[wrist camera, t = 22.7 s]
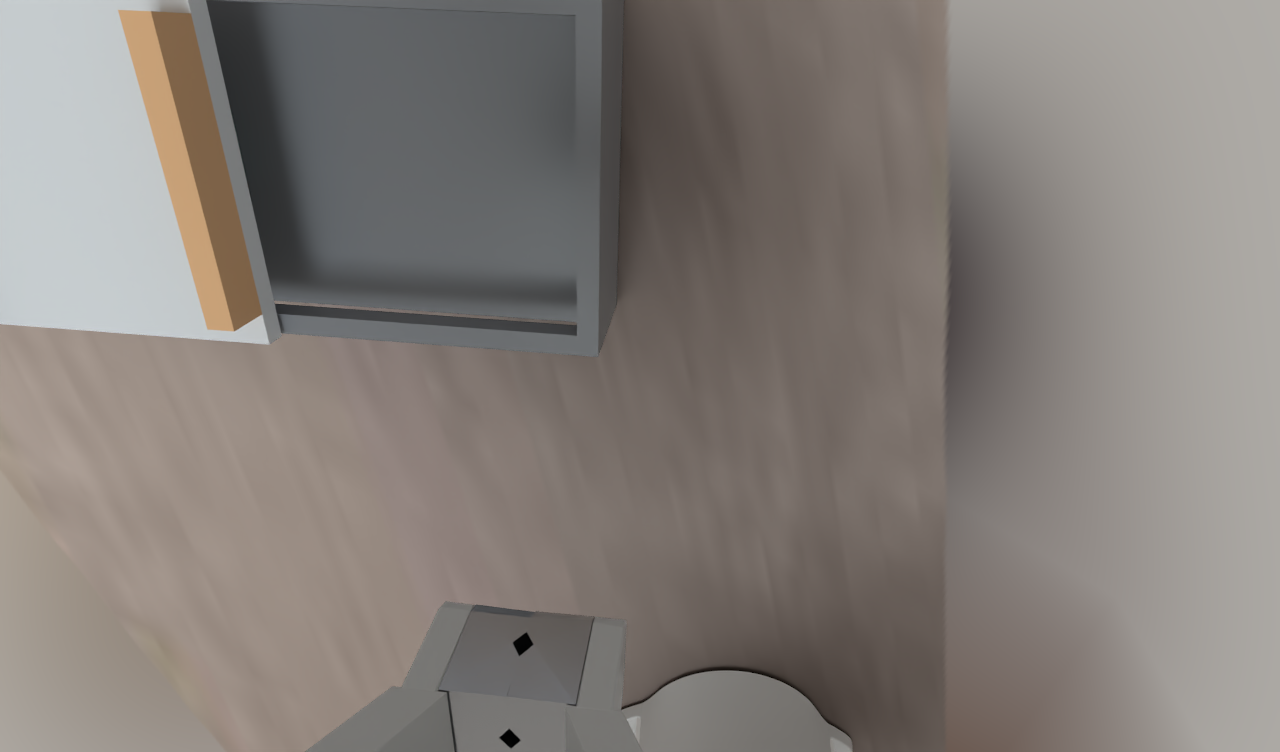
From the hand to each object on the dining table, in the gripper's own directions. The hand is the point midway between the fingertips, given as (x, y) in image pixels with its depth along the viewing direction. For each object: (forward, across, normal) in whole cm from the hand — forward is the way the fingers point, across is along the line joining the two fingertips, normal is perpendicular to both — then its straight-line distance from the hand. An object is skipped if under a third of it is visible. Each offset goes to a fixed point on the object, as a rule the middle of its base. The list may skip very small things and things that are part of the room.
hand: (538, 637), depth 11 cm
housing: (+27, +17, -3) cm, 32 cm away
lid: (+20, +24, -3) cm, 31 cm away
